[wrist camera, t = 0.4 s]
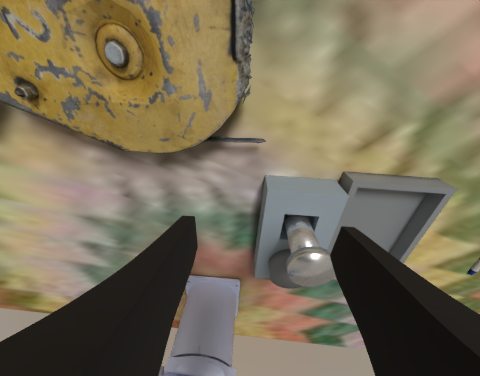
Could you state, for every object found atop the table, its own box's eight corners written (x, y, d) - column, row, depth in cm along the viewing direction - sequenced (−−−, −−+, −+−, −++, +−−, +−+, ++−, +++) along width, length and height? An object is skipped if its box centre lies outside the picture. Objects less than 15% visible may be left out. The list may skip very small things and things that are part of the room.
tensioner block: (307, 261, 25) (317, 295, 21) (254, 257, 25) (254, 290, 21) (335, 180, 19) (357, 206, 15) (265, 175, 19) (269, 199, 15)
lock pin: (305, 223, 22) (329, 288, 15) (273, 221, 22) (284, 284, 15) (312, 197, 20) (344, 257, 13) (278, 194, 20) (293, 253, 13)
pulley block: (-594, -236, 6) (324, -224, 6) (-238, -122, 11) (292, -107, 10) (-111, 151, 15) (266, 172, 14) (-27, 124, 20) (263, 139, 19)
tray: (380, 267, 25) (390, 281, 23) (311, 261, 25) (315, 275, 23) (437, 178, 18) (457, 188, 17) (343, 171, 18) (353, 181, 17)
